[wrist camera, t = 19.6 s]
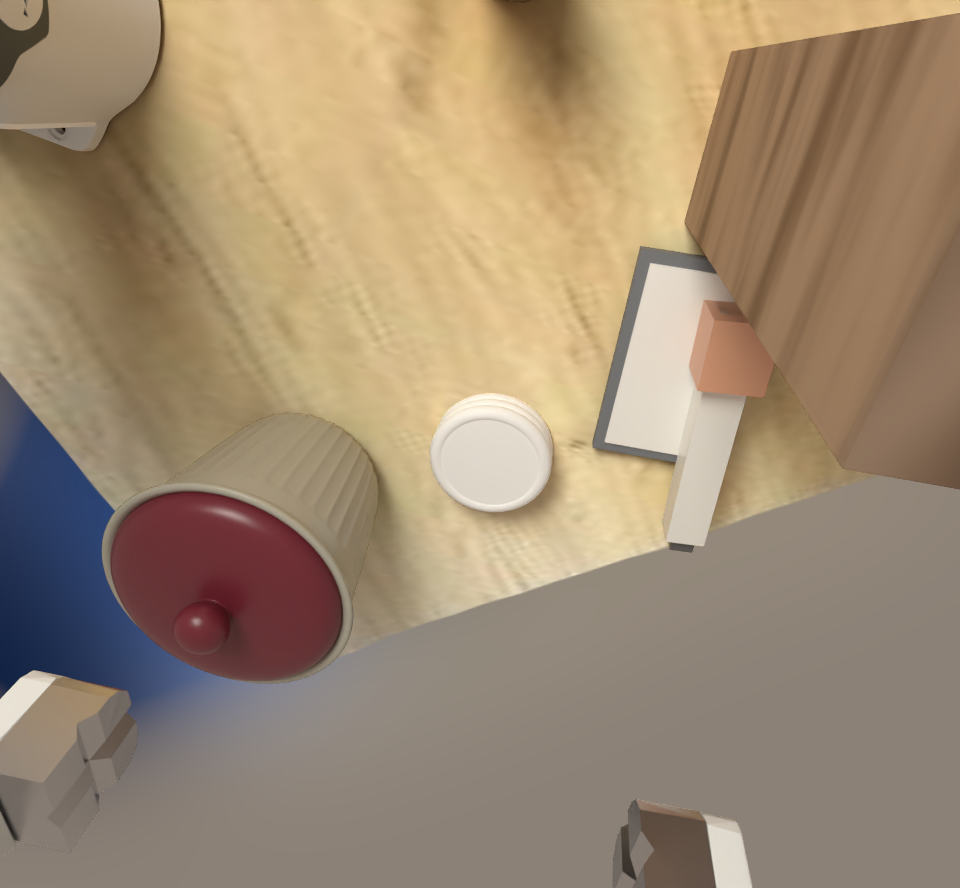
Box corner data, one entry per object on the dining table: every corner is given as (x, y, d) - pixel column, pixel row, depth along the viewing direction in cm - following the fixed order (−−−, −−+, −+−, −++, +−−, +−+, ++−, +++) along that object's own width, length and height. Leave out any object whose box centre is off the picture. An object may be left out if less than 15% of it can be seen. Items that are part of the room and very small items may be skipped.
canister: (365, 357, 52) (247, 506, 34) (436, 533, 60) (371, 728, 42) (183, 402, 57) (-5, 553, 39) (271, 559, 65) (148, 745, 47)
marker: (651, 529, 55) (655, 563, 51) (703, 299, 45) (714, 320, 41) (703, 536, 55) (712, 570, 51) (769, 305, 45) (785, 326, 41)
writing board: (592, 441, 53) (592, 448, 52) (640, 246, 45) (641, 250, 44) (714, 463, 53) (717, 471, 52) (785, 269, 44) (790, 273, 43)
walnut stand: (684, 222, 44) (842, 468, 16) (731, 51, 39) (1073, -7, 11) (818, 243, 43) (1215, 534, 16) (884, 72, 38) (1637, 65, 11)
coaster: (451, 496, 58) (443, 519, 55) (425, 397, 54) (415, 417, 51) (561, 487, 56) (559, 510, 53) (543, 383, 52) (540, 402, 49)
